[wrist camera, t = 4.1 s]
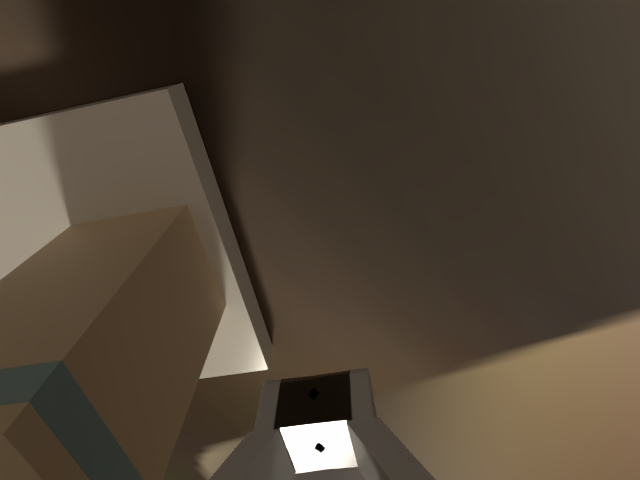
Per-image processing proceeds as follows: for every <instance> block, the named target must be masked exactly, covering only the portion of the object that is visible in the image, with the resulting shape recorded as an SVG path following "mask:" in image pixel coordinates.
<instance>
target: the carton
mask: <svg viewBox="0 0 640 480" xmlns="http://www.w3.org/2000/svg"><path fill="white" fill-rule="evenodd" d="M225 307H226V303H225V301H224V298H223V296H222V293H221V291H220V288H219V285H218V283H217V280H216V278H215V275H214V272H213V270H212V267H211V265H210V262H209V260H208V257H207V254H206V252H205V249H204V247H203V244H202V242H201V239H200V236H199V234H198V231H197V229H196V226H195V223H194V221H193V218H192V216H191V213H190V211H189V208H188V205H187V204H184V205H179V206H174V207H168V208H163V209H158V210H152V211H147V212H142V213H136V214H131V215H125V216H120V217H115V218H109V219H104V220H99V221H93V222H88V223H83V224H77V225H72V226H70V227H68V228H67V229H66V230H64V231H63V232H62V233H60V234H59V235H58V236H57V237H55V238H54V239H53V240H51V241H50V242H49V243H48V244H46V245H45V246H44V247H42V248H41V249H40V250H38V251H37V252H36V253H35V254H33V255H32V256H31V257H29V258H28V259H27V260H25V261H24V262H23V263H22V264H20V265H19V266H18V267H16V268H15V269H14V270H13V271H11V272H10V273H9V274H7V275H6V276H5V277H3V278H2V279H1V280H0V480H162V478H163V475H164V473H165V470H166V467H167V465H168V462H169V459H170V456H171V454H172V451H173V448H174V446H175V443H176V440H177V437H178V435H179V432H180V429H181V427H182V424H183V421H184V418H185V416H186V413H187V410H188V407H189V405H190V402H191V399H192V397H193V394H194V391H195V388H196V386H197V383H198V380H199V378H200V375H201V372H202V369H203V367H204V364H205V361H206V359H207V356H208V353H209V350H210V348H211V345H212V342H213V340H214V337H215V334H216V331H217V329H218V326H219V323H220V321H221V318H222V315H223V312H224V310H225Z"/></svg>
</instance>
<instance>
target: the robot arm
mask: <svg viewBox="0 0 640 480" xmlns="http://www.w3.org/2000/svg"><path fill="white" fill-rule="evenodd" d="M348 467H358V469H359V470H360V472H361V473H362V475H363V476H364V478H365V479H366V480H435V479H434V477H433V476H432V475H431V474H430V473H429V472H428V471H427V470H426V469H425V468H424V467H423V465H422V464H421V463H420V462H419V461H418V460H417V459H416V458H415V457H414V455H413V454H412V453H411V452H410V451H409V450H408V449H407V448H406V447H405V445H403V443H402V442H401V441H400V440H399V439H398V438H397V437H396V436H395V434H394V433H393V432H392V431H391V430H390V429H389V428H388V427H387V426H386V425H385V424H384V423H383V421H382V420H381V419H380V418H377V412H376V407H375V401H374V395H373V390H372V385H371V380H370V375H369V370H368V368H363V369H356V370H348V371H342V372H335V373H328V374H321V375H316V376H307V377H298V378H288V379H282V380H273V381H265V382H264V384H263V385H262V389H261V394H260V400H259V405H258V410H257V416H256V421H255V426H254V432H251V433H248V434H247V435H246V436H245V437H244V439H243V440H242V441H241V442H240V443H239V445H238V446H237V447H236V448H235V449H234V451H233V452H232V453H231V454H230V455H229V457H228V458H227V459H226V460H225V461H224V463H223V464H222V465H221V466H220V467H219V469H218V470H217V471H216V472H215V473H214V474H213V476H212V477H211V478H210V479H209V480H294V478H295V477H296V474H295V473H301V472H309V471H316V470H324V469H333V468H334V469H335V468H348Z"/></svg>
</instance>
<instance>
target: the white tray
mask: <svg viewBox="0 0 640 480" xmlns="http://www.w3.org/2000/svg"><path fill="white" fill-rule="evenodd" d="M184 204H187V205H188V208H189V211H190V213H191V216H192V218H193V221H194V223H195V226H196V229H197V231H198V234H199V236H200V239H201V242H202V244H203V247H204V249H205V252H206V254H207V257H208V260H209V262H210V265H211V267H212V270H213V272H214V275H215V278H216V280H217V283H218V285H219V288H220V291H221V293H222V296H223V298H224V301H225V303H226V307H225V310H224V312H223V315H222V318H221V321H220V323H219V326H218V329H217V331H216V334H215V337H214V340H213V342H212V345H211V348H210V350H209V353H208V356H207V359H206V361H205V364H204V367H203V369H202V372H201V375H200V378H199V379H201V378H209V377H216V376H223V375H231V374H238V373H246V372H253V371H260V370H268V367H269V362H270V356H271V350H272V343H271V340H270V337H269V334H268V332H267V329H266V326H265V323H264V320H263V317H262V314H261V311H260V308H259V305H258V302H257V299H256V296H255V293H254V290H253V287H252V284H251V282H250V279H249V276H248V273H247V270H246V267H245V264H244V261H243V258H242V255H241V252H240V249H239V246H238V243H237V240H236V237H235V235H234V232H233V229H232V226H231V223H230V220H229V217H228V214H227V211H226V208H225V205H224V202H223V199H222V196H221V193H220V190H219V188H218V185H217V182H216V179H215V176H214V173H213V170H212V167H211V164H210V161H209V158H208V155H207V152H206V149H205V146H204V143H203V140H202V138H201V135H200V132H199V129H198V126H197V123H196V120H195V117H194V114H193V111H192V108H191V105H190V102H189V99H188V96H187V93H186V91H185V88H184V85H183V83H179V84H175V85H170V86H166V87H161V88H157V89H152V90H148V91H143V92H139V93H134V94H130V95H125V96H121V97H116V98H112V99H107V100H103V101H98V102H94V103H89V104H85V105H80V106H76V107H71V108H67V109H62V110H58V111H53V112H49V113H44V114H40V115H35V116H31V117H26V118H22V119H17V120H13V121H9V122H4V123H0V280H1V279H2V278H3V277H5V276H6V275H7V274H9V273H10V272H11V271H13V270H14V269H15V268H16V267H18V266H19V265H20V264H22V263H23V262H24V261H25V260H27V259H28V258H29V257H31V256H32V255H33V254H35V253H36V252H37V251H38V250H40V249H41V248H42V247H44V246H45V245H46V244H48V243H49V242H50V241H51V240H53V239H54V238H55V237H57V236H58V235H59V234H60V233H62V232H63V231H64V230H66V229H67V228H68V227H70V226H72V225H77V224H83V223H88V222H93V221H99V220H104V219H109V218H115V217H120V216H125V215H131V214H136V213H142V212H147V211H152V210H158V209H163V208H168V207H174V206H179V205H184Z"/></svg>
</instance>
